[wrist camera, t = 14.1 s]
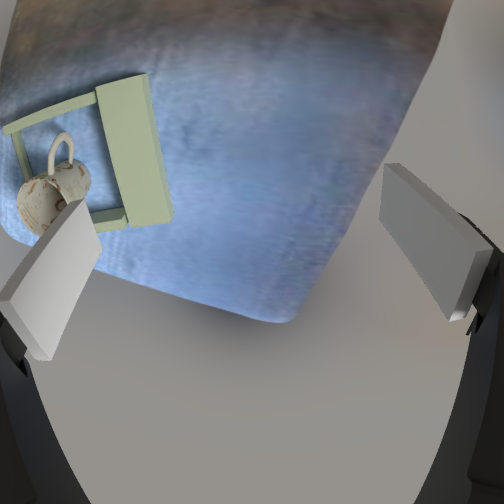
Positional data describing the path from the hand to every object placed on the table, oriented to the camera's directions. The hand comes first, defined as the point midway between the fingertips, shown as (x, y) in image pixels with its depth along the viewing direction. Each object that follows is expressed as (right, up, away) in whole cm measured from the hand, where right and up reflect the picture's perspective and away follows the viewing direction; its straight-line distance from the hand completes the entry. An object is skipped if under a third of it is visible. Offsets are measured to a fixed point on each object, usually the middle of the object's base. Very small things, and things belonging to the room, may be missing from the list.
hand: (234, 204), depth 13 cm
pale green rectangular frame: (-22, +11, +26) cm, 36 cm away
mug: (-25, +11, +26) cm, 37 cm away
